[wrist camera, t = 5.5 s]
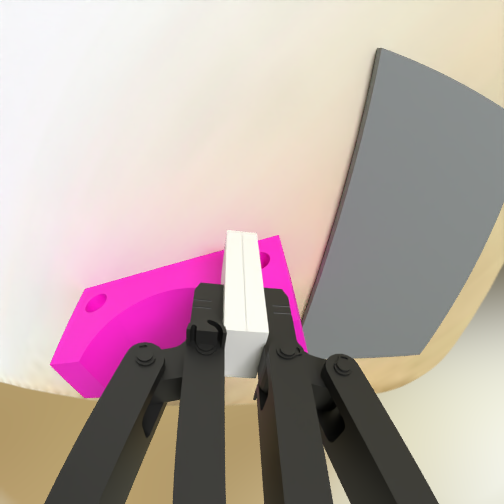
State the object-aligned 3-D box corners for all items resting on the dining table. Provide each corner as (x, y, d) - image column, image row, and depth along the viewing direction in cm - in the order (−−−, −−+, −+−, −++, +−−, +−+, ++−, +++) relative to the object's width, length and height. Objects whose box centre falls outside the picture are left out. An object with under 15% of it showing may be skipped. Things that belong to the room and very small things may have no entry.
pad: (289, 353, 26) (290, 358, 26) (377, 48, 13) (381, 48, 13) (417, 350, 28) (419, 354, 28) (523, 123, 15) (528, 125, 15)
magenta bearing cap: (124, 341, 25) (105, 415, 19) (85, 288, 22) (49, 364, 15) (297, 303, 23) (316, 387, 17) (278, 234, 20) (298, 319, 14)
